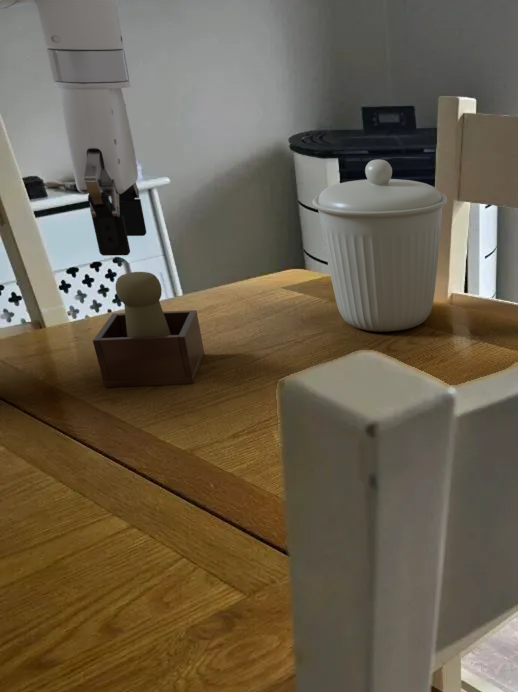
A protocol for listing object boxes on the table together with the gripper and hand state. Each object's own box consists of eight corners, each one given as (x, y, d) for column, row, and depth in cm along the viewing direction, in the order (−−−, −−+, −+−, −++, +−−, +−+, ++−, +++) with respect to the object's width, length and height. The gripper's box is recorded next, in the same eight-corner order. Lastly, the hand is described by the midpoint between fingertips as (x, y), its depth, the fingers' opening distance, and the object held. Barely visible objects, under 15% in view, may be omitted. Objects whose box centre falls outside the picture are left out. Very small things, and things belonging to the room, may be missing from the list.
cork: (129, 359, 106) (107, 270, 100) (177, 353, 108) (159, 265, 101) (132, 375, 101) (109, 282, 95) (182, 368, 103) (163, 277, 97)
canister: (402, 350, 110) (395, 175, 98) (298, 328, 118) (279, 163, 106) (470, 314, 123) (472, 155, 110) (372, 297, 131) (363, 146, 118)
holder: (104, 387, 100) (92, 340, 97) (122, 357, 109) (112, 313, 105) (193, 383, 101) (184, 336, 98) (204, 354, 110) (196, 310, 106)
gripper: (73, 65, 93) (107, 229, 103) (27, 75, 79) (72, 263, 89) (142, 66, 94) (169, 228, 103) (108, 76, 80) (143, 263, 89)
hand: (124, 244), depth 96 cm, fingers open, 9 cm apart
